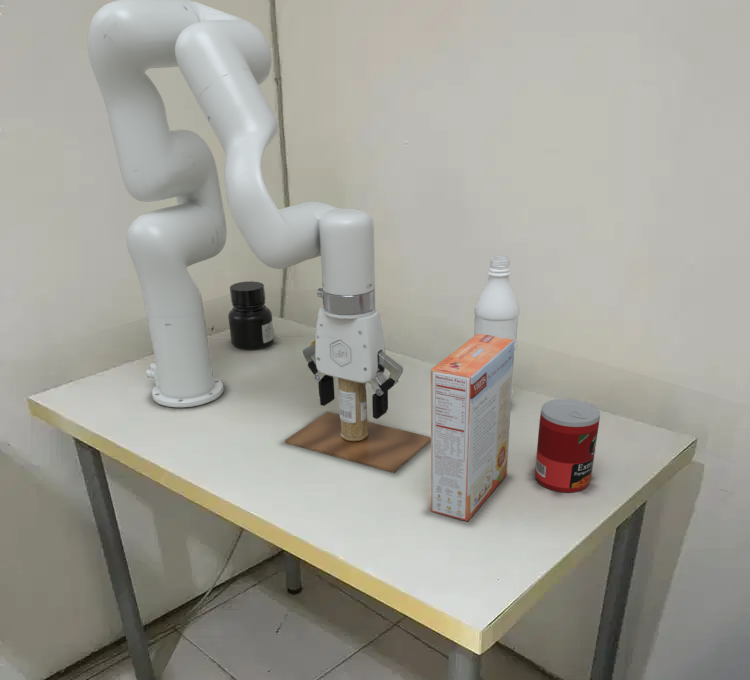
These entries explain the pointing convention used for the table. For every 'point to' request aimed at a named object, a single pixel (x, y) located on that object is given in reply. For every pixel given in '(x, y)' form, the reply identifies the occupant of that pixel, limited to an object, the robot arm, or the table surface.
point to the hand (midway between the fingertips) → (353, 408)
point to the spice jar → (353, 410)
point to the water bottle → (497, 304)
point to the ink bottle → (250, 317)
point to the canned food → (566, 444)
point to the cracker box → (470, 424)
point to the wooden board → (360, 443)
